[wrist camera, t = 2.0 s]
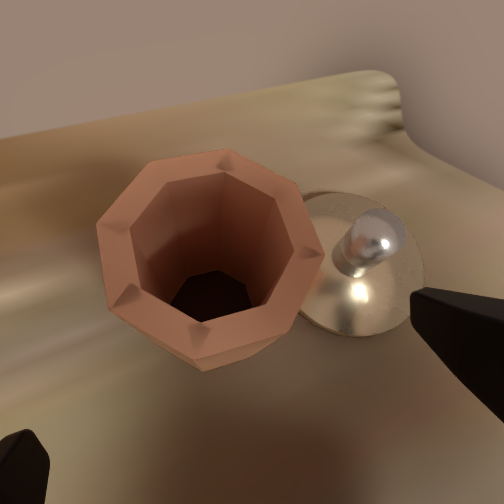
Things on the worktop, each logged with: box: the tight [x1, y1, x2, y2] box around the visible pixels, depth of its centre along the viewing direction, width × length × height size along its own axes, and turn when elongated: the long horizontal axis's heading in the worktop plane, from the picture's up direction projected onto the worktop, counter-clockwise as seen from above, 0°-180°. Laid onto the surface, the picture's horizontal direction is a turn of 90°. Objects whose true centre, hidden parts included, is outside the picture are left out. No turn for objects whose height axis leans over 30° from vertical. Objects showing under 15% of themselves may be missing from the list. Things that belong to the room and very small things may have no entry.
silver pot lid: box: [299, 193, 424, 337], centre depth 19 cm, size 10×10×5 cm
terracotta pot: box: [96, 149, 325, 372], centre depth 14 cm, size 6×6×10 cm
